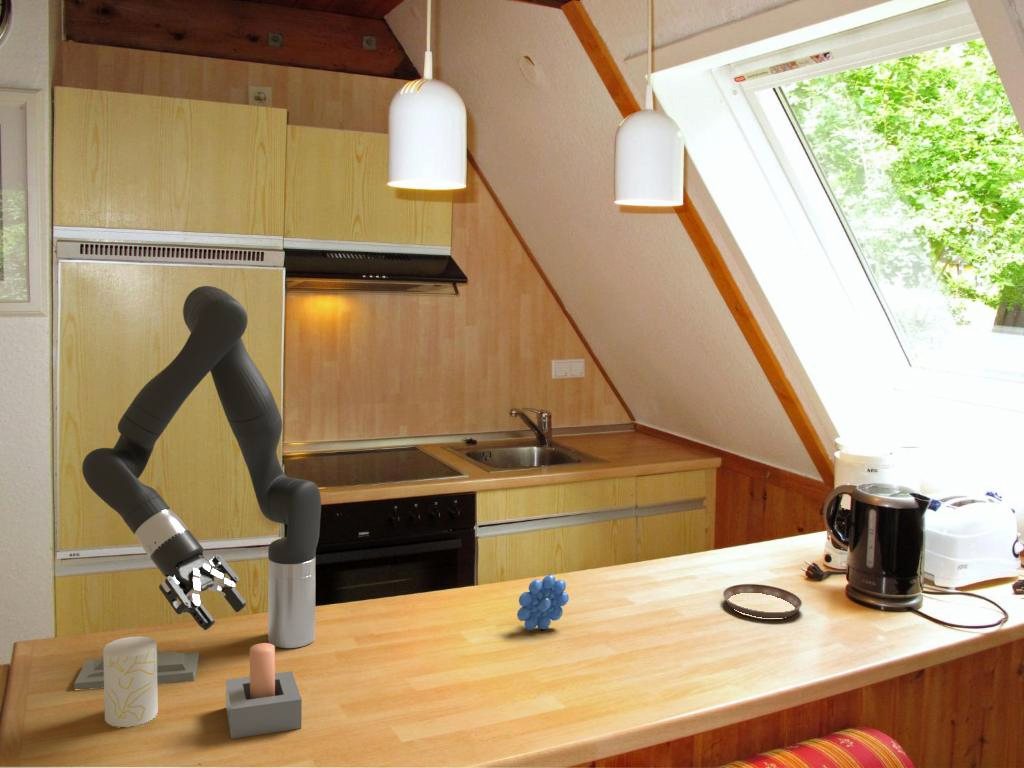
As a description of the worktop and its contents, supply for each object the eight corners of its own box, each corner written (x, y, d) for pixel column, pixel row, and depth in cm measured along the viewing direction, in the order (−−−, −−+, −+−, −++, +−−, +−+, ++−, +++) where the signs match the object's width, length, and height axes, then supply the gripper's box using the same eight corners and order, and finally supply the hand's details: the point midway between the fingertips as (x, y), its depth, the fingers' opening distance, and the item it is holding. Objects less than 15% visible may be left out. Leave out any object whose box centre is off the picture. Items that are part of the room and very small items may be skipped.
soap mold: (86, 669, 168) (85, 651, 168) (199, 661, 173) (199, 643, 173) (74, 694, 158) (73, 675, 158) (194, 684, 164) (194, 666, 163)
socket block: (226, 707, 154) (226, 679, 154) (291, 698, 158) (292, 671, 158) (231, 738, 144) (231, 709, 144) (301, 728, 148) (301, 699, 148)
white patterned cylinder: (104, 731, 145) (102, 659, 144) (105, 708, 153) (103, 640, 151) (158, 722, 149) (157, 652, 147) (156, 700, 156) (155, 633, 154)
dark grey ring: (790, 630, 198) (791, 617, 197) (712, 612, 207) (712, 599, 206) (809, 606, 213) (810, 593, 213) (735, 590, 222) (735, 578, 221)
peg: (248, 712, 152) (248, 644, 151) (273, 708, 154) (273, 641, 152) (251, 724, 149) (251, 654, 147) (276, 720, 150) (276, 651, 148)
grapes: (559, 619, 199) (561, 566, 197) (571, 631, 192) (574, 576, 191) (509, 624, 195) (511, 571, 193) (520, 637, 188) (522, 581, 187)
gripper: (152, 540, 146) (213, 619, 144) (208, 518, 159) (264, 590, 157) (126, 568, 148) (185, 646, 146) (183, 544, 162) (238, 615, 159)
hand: (226, 617), depth 152 cm, fingers open, 8 cm apart
